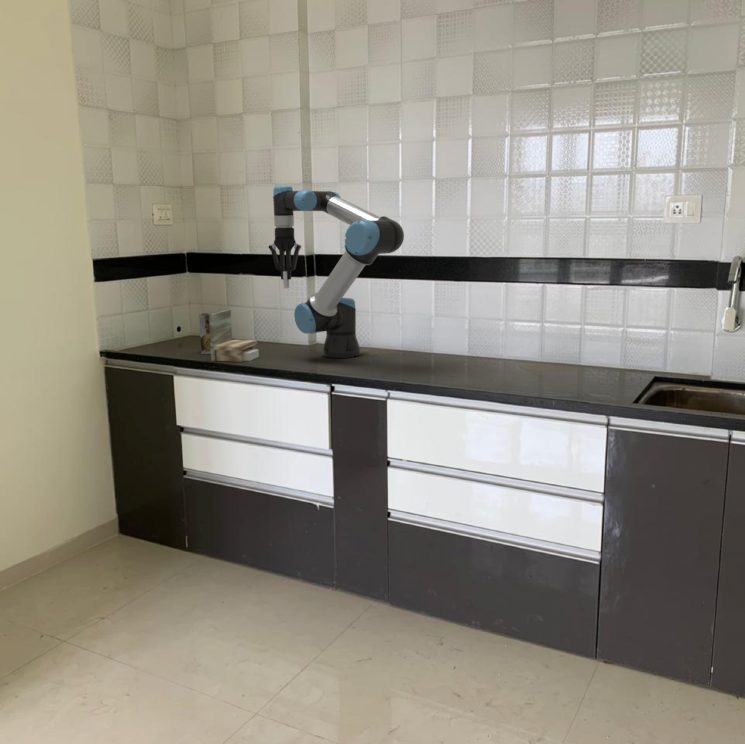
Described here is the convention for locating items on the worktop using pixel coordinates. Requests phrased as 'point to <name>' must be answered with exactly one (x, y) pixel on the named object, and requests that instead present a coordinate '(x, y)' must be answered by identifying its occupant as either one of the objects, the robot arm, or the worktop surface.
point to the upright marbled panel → (226, 339)
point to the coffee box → (205, 333)
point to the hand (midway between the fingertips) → (286, 288)
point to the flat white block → (250, 354)
